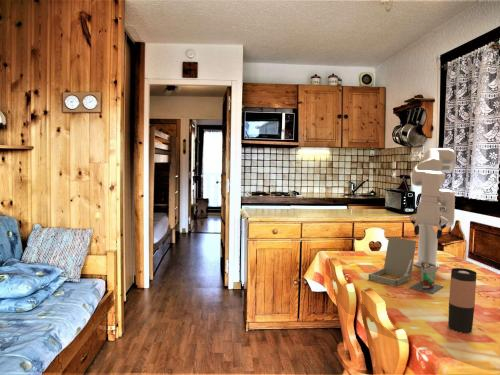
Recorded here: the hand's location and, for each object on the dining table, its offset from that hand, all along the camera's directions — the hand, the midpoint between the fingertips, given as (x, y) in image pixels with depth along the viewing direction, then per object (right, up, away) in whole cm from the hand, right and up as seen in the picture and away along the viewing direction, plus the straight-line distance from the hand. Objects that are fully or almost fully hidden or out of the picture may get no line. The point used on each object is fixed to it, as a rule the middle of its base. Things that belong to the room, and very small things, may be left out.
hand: (427, 236), depth 180 cm
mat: (-2, -23, -3) cm, 23 cm away
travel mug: (-10, -26, -46) cm, 54 cm away
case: (-13, -21, +11) cm, 27 cm away
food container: (-1, -23, -3) cm, 23 cm away
